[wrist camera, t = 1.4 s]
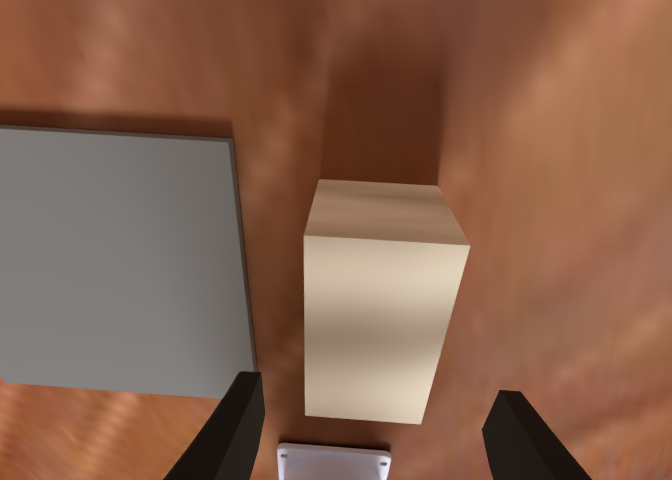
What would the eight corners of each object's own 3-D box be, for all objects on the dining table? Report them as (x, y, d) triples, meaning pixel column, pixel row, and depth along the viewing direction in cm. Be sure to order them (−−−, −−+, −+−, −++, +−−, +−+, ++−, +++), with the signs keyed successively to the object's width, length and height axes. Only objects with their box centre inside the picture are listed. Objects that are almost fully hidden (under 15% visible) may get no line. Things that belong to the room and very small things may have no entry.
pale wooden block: (406, 337, 19) (420, 424, 15) (316, 331, 19) (305, 415, 15) (437, 184, 15) (470, 245, 10) (319, 177, 15) (303, 235, 10)
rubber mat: (259, 392, 22) (257, 401, 22) (12, 374, 22) (4, 382, 22) (233, 138, 14) (228, 142, 13) (-154, 115, 14) (-173, 118, 14)
